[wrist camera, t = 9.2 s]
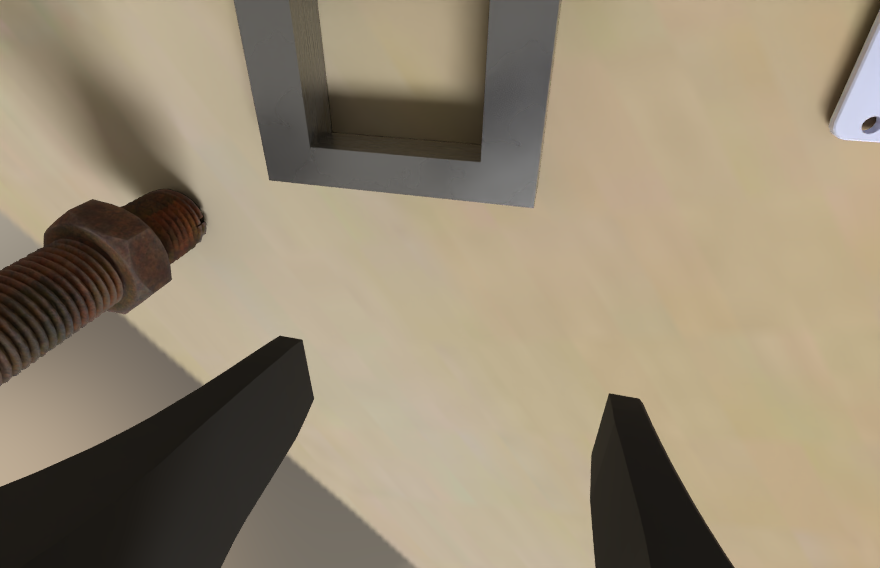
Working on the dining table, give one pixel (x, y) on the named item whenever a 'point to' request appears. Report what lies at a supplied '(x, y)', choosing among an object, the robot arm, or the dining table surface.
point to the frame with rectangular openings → (398, 159)
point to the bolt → (91, 271)
